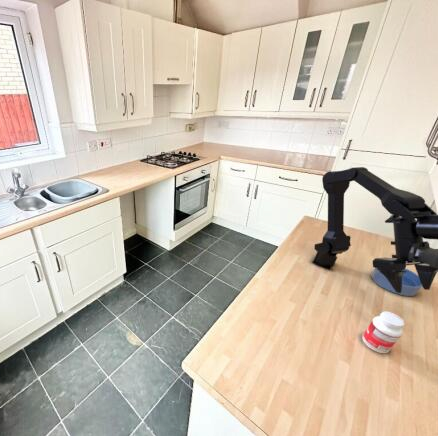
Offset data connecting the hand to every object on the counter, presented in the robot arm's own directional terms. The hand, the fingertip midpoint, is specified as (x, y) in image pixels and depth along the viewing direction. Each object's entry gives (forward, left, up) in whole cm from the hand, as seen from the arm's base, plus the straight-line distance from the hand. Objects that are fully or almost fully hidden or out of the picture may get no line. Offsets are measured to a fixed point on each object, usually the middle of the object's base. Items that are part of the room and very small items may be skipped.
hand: (412, 291), depth 71 cm
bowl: (-1, +23, -13) cm, 26 cm away
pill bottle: (-2, -13, -14) cm, 19 cm away
